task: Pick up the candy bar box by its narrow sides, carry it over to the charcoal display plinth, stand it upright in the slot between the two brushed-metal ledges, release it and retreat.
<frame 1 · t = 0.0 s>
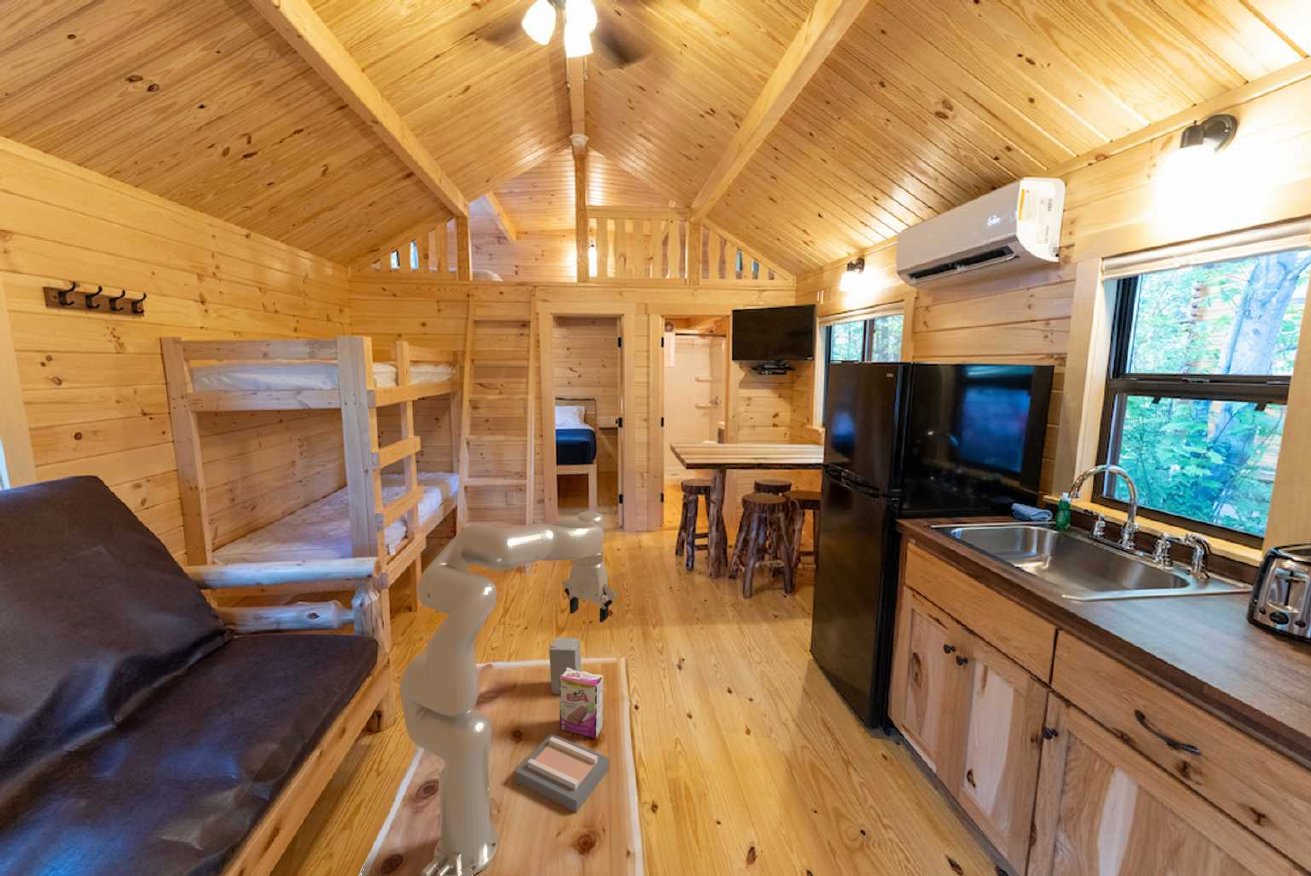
hand: (588, 615, 140), 31 cm above the table, tool pointing down, fingers open, 9 cm apart
candy bar box: (581, 730, 140), on the table
skincare box: (565, 689, 157), on the table
display plinth: (563, 775, 125), on the table
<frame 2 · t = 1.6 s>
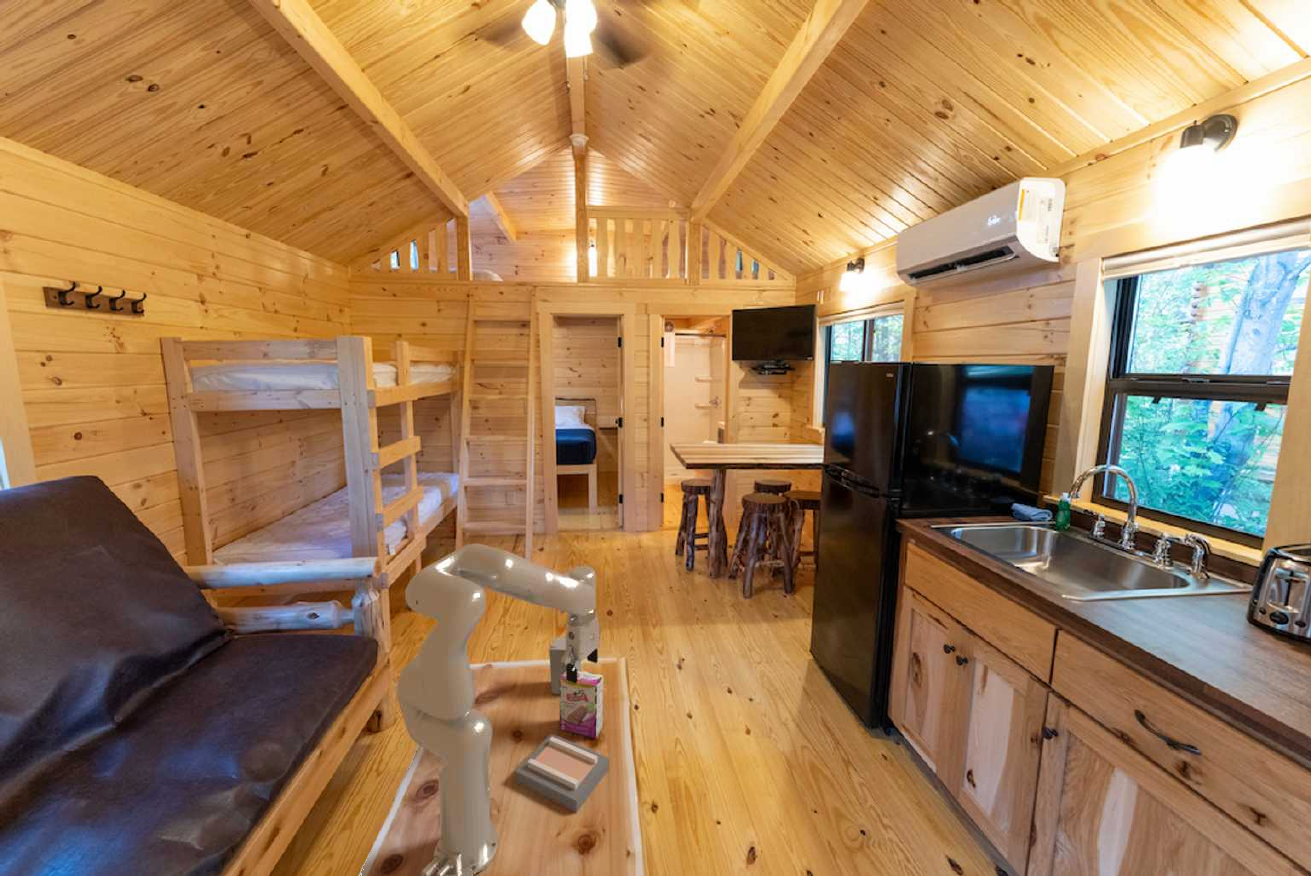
hand: (582, 670, 138), 17 cm above the table, tool pointing down, fingers open, 9 cm apart
nothing on the table moved.
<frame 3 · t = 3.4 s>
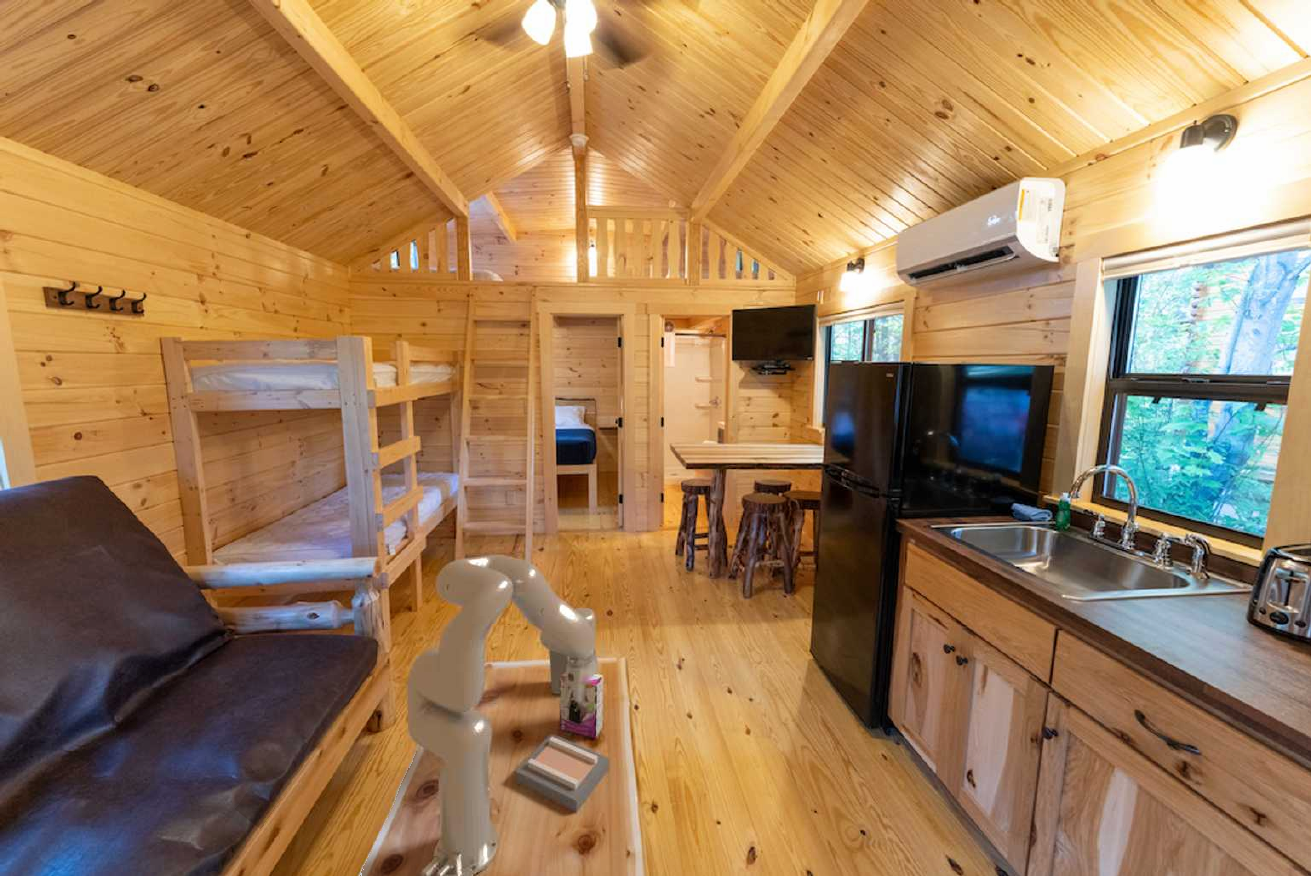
hand: (581, 713, 140), 5 cm above the table, tool pointing down, fingers closed on candy bar box, 5 cm apart
candy bar box: (581, 730, 140), on the table, touching gripper
everything else where it was.
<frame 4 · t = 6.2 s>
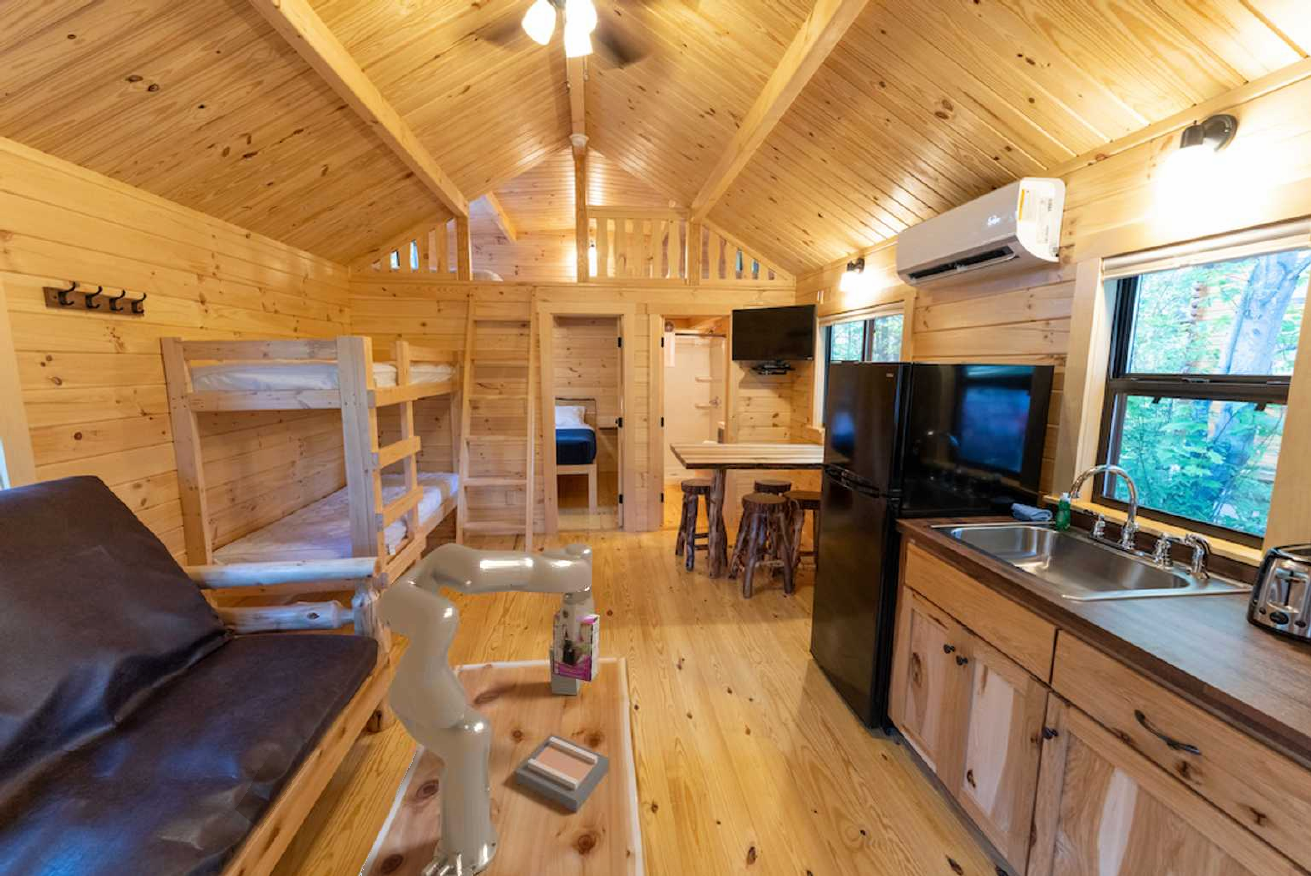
hand: (575, 657, 132), 25 cm above the table, tool pointing down, fingers closed on candy bar box, 5 cm apart
candy bar box: (575, 674, 132), point 20 cm above the table, touching gripper
everything else where it was.
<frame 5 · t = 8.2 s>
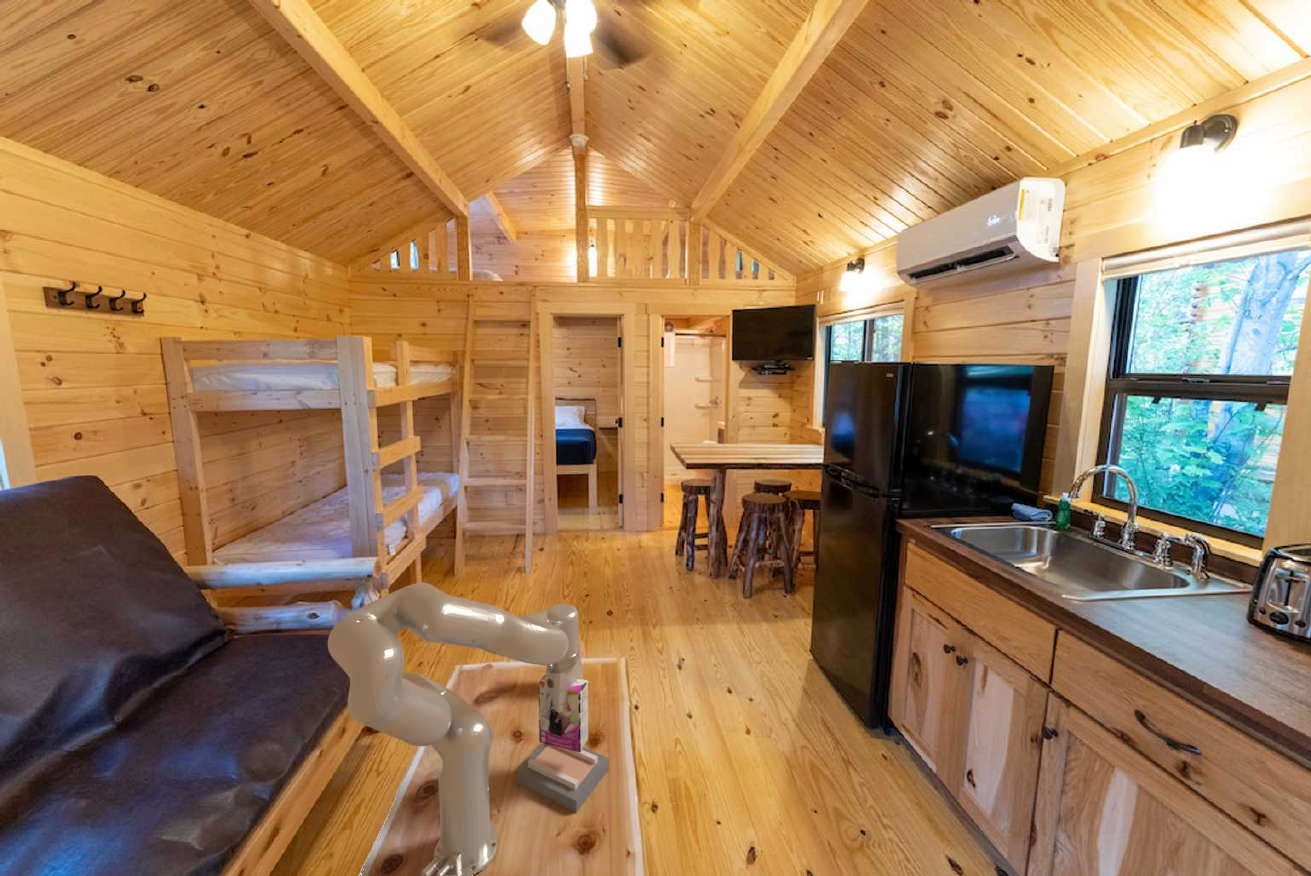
hand: (563, 724, 123), 14 cm above the table, tool pointing down, fingers closed on candy bar box, 5 cm apart
candy bar box: (564, 742, 124), point 9 cm above the table, touching gripper
everything else where it was.
when the fingers open (9 cm above the table, at t = 9.5 s): candy bar box drops 1 cm, resting on display plinth.
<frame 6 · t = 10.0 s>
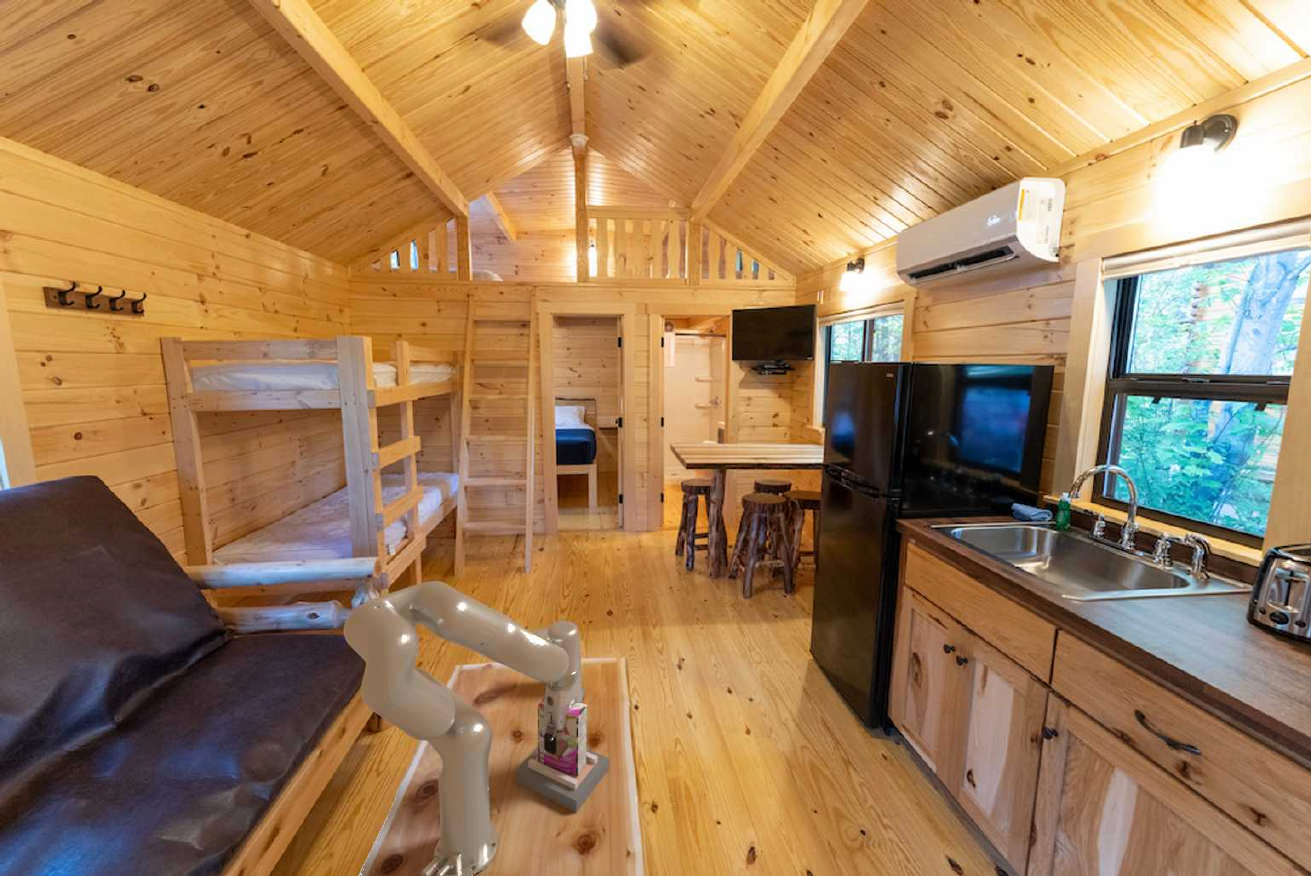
hand: (562, 738, 123), 10 cm above the table, tool pointing down, fingers open, 9 cm apart
candy bar box: (562, 765, 124), point 3 cm above the table, touching display plinth
everything else where it was.
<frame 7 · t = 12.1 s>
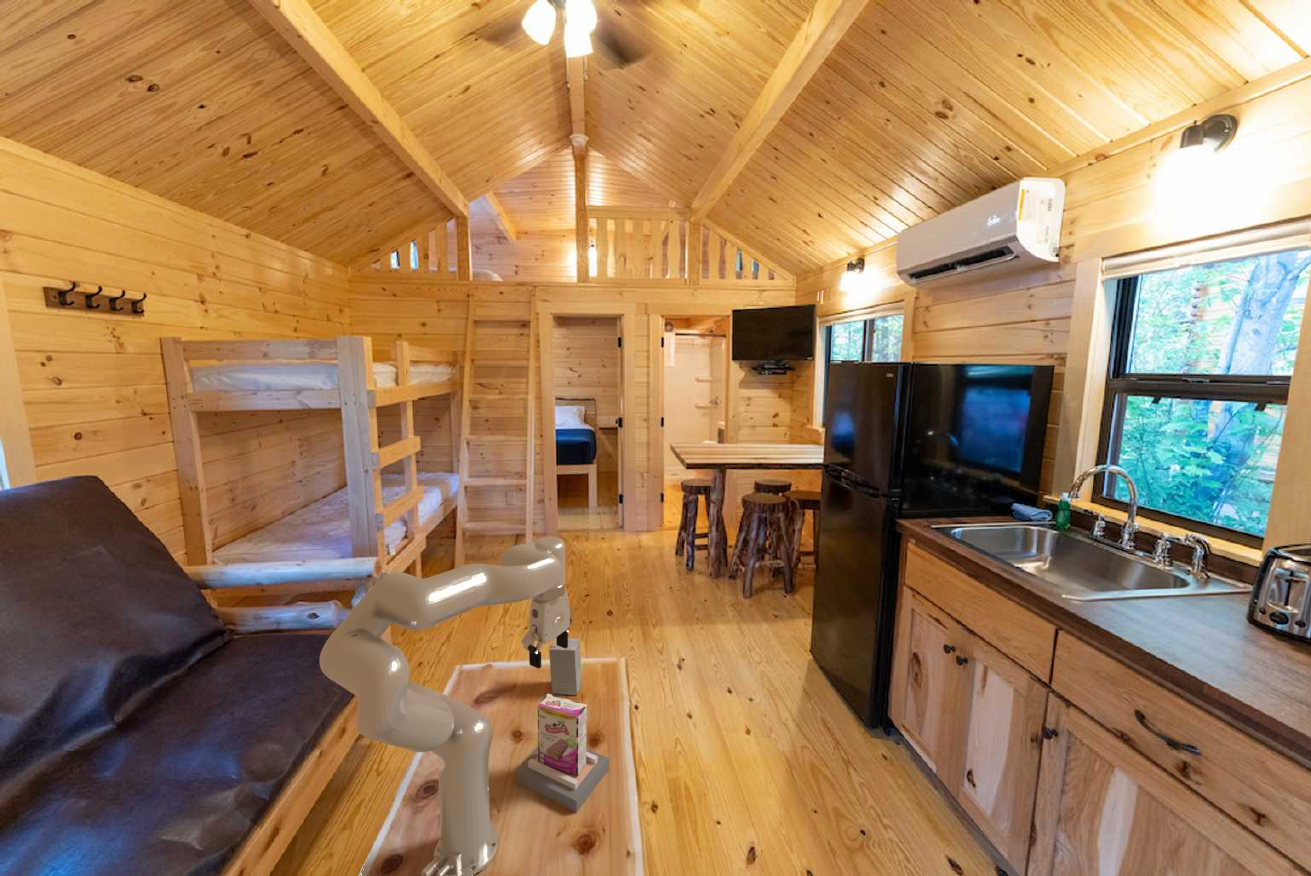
hand: (549, 656, 122), 30 cm above the table, tool pointing down, fingers open, 9 cm apart
nothing on the table moved.
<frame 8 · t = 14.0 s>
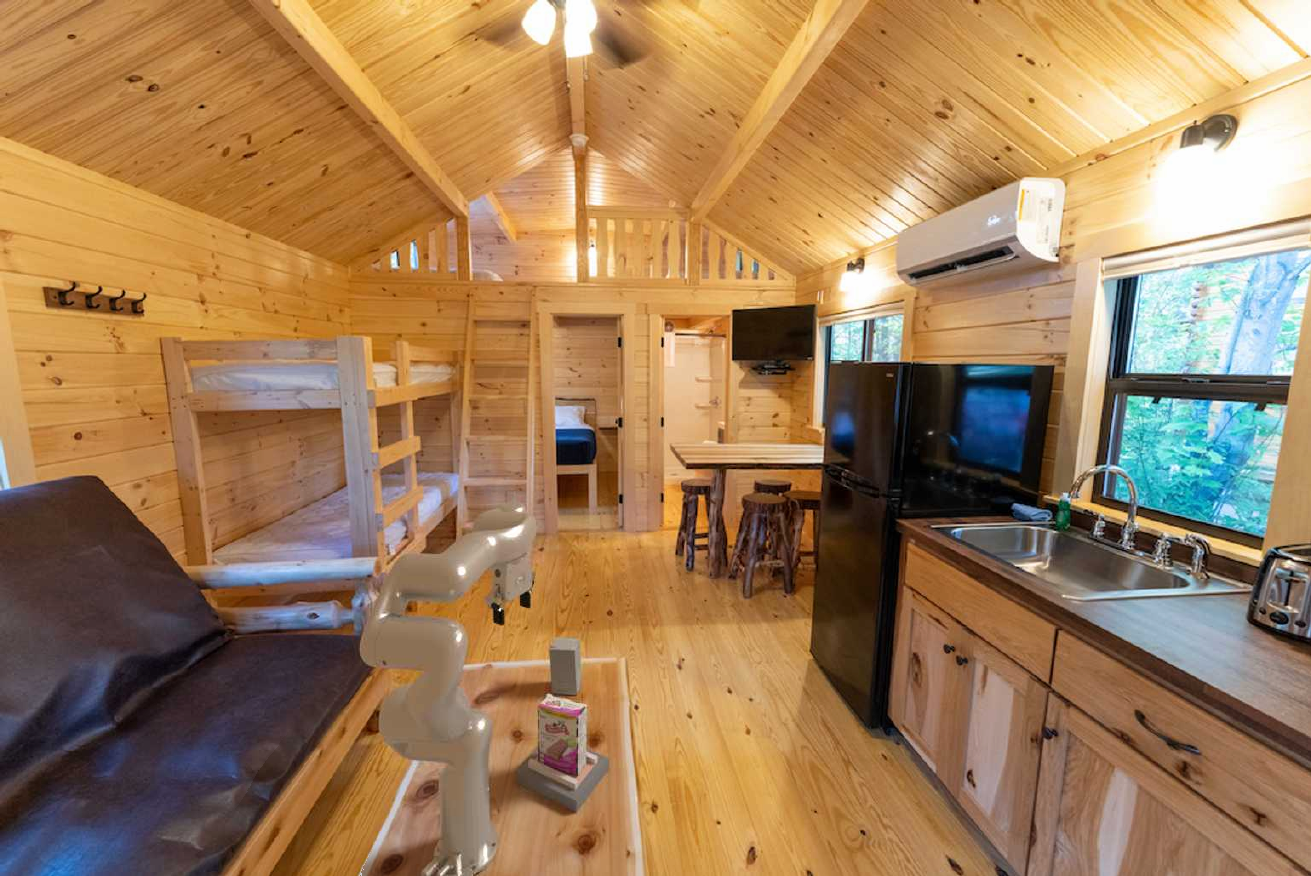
hand: (512, 615, 130), 36 cm above the table, tool pointing down, fingers open, 9 cm apart
nothing on the table moved.
at the end: candy bar box 0.3 cm off-centre on the display plinth, point 3.0 cm above the display plinth's base; candy bar box tilted 0°; the gripper is holding nothing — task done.
